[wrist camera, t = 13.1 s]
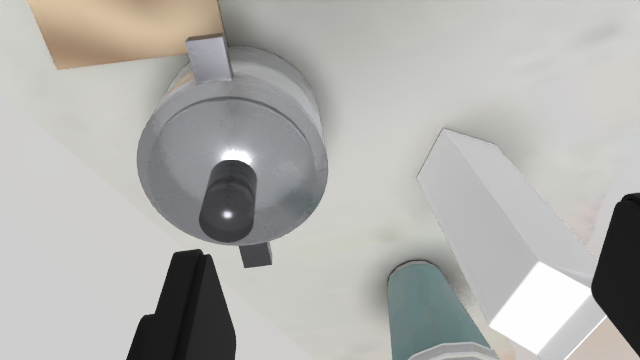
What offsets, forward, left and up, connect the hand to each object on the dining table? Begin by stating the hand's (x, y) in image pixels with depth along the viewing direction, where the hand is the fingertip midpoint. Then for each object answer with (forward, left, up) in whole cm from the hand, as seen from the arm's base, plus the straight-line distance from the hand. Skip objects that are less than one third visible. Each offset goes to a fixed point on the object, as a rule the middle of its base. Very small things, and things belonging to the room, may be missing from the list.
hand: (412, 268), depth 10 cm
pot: (+9, -8, -30) cm, 33 cm away
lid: (+9, -8, -21) cm, 24 cm away
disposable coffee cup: (+32, +8, -31) cm, 45 cm away
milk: (+16, +12, -31) cm, 36 cm away
